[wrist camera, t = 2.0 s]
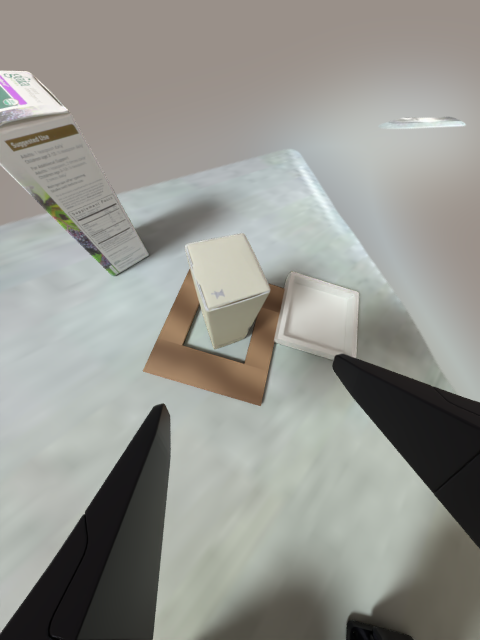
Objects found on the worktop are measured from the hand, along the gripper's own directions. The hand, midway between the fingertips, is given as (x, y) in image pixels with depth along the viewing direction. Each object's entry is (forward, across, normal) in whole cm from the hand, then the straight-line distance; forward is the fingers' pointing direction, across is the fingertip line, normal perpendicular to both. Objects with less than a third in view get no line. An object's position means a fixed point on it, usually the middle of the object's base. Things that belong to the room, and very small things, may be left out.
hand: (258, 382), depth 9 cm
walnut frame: (+14, 0, +4) cm, 15 cm away
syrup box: (+24, +12, -5) cm, 27 cm away
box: (+14, 0, +4) cm, 15 cm away
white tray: (+13, -13, +6) cm, 19 cm away
